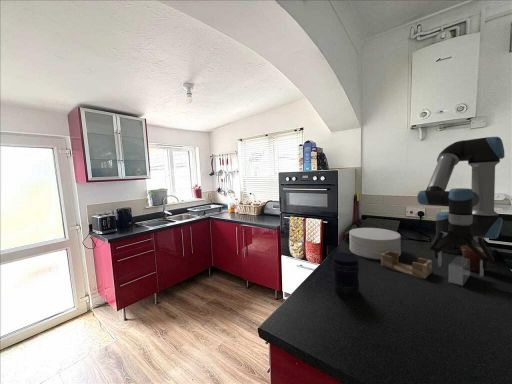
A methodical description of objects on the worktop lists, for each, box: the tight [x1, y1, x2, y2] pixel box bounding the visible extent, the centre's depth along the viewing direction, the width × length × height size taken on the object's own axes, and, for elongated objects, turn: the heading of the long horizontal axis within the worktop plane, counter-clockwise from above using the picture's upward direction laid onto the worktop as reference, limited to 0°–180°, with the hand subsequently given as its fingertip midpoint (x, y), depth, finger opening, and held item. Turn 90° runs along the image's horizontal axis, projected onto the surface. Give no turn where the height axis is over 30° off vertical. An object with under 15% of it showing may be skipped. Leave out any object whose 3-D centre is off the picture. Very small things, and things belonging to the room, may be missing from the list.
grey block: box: [447, 255, 471, 287], centre depth 94 cm, size 4×14×8 cm, turn 126°
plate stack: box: [348, 227, 402, 260], centre depth 132 cm, size 28×28×12 cm
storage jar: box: [332, 252, 360, 298], centre depth 88 cm, size 10×10×15 cm
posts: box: [380, 251, 433, 280], centre depth 106 cm, size 10×19×6 cm, turn 36°
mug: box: [461, 245, 488, 273], centre depth 100 cm, size 12×9×10 cm
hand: (459, 270), depth 94 cm, fingers open, 13 cm apart
